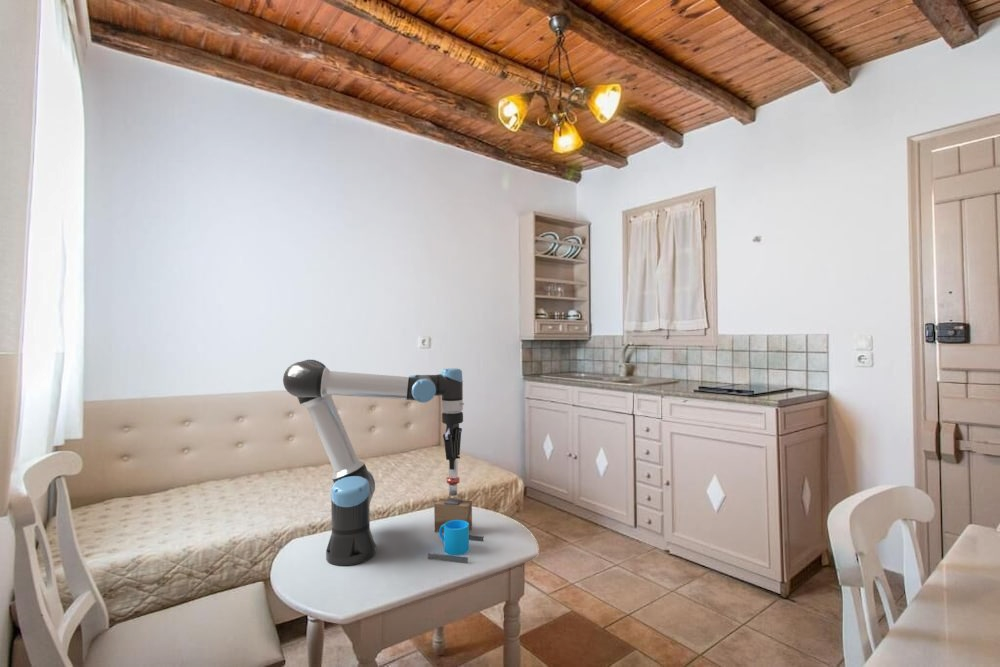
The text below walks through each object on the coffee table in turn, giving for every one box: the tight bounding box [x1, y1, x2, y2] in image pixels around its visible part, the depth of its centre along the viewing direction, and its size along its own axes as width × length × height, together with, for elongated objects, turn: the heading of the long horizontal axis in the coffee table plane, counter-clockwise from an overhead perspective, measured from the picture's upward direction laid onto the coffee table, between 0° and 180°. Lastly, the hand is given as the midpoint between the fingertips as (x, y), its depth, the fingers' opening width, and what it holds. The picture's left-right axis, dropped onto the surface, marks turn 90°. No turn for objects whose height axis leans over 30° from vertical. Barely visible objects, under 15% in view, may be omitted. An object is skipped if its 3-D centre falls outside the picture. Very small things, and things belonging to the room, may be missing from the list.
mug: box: [438, 520, 470, 556], centre depth 159 cm, size 12×8×8 cm
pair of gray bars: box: [427, 534, 485, 564], centre depth 158 cm, size 13×17×2 cm
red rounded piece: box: [446, 476, 460, 497], centre depth 173 cm, size 5×5×6 cm
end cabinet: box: [433, 497, 473, 534], centre depth 173 cm, size 6×12×11 cm, turn 75°
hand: (453, 477), depth 173 cm, fingers closed
